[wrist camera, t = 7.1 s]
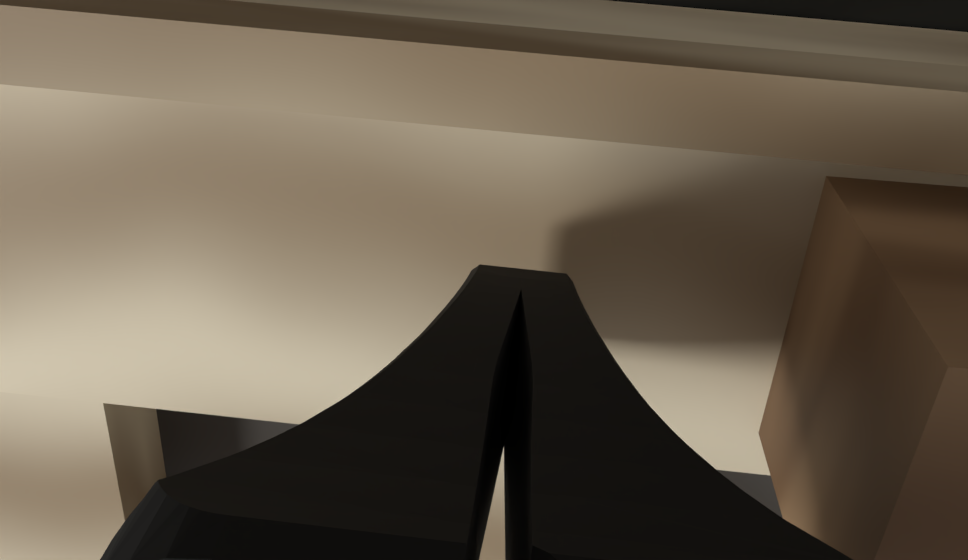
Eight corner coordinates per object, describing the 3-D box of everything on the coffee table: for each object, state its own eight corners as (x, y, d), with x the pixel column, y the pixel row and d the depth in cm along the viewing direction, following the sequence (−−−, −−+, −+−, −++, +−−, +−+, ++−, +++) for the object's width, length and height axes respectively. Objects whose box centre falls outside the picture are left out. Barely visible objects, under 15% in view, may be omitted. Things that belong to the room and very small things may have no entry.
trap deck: (926, 646, 19) (1004, 836, 16) (31, 543, 20) (-82, 703, 17) (1212, 53, 13) (1451, 157, 9) (-129, -64, 14) (-368, -10, 10)
